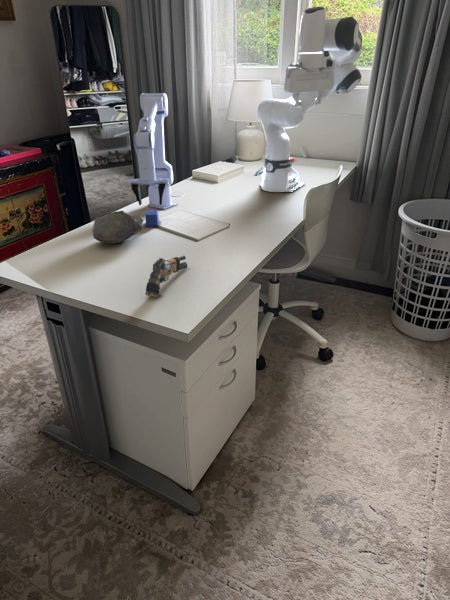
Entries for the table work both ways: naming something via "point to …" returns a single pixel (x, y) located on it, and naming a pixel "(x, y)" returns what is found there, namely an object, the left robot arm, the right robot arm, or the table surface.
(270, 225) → the table surface
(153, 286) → the toy gun
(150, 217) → the block
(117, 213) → the stone
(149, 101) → the left robot arm
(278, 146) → the right robot arm
